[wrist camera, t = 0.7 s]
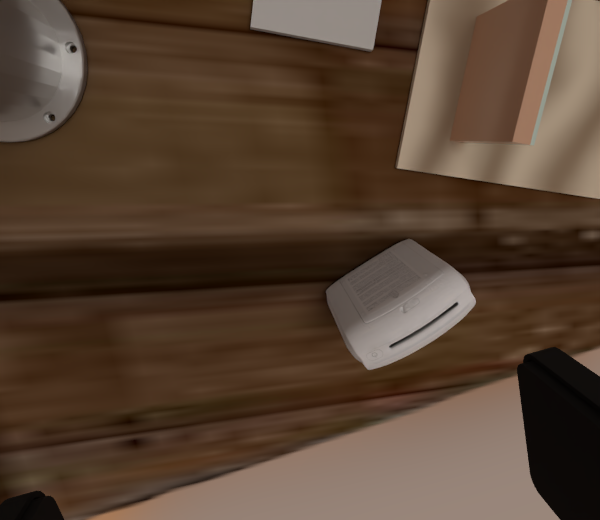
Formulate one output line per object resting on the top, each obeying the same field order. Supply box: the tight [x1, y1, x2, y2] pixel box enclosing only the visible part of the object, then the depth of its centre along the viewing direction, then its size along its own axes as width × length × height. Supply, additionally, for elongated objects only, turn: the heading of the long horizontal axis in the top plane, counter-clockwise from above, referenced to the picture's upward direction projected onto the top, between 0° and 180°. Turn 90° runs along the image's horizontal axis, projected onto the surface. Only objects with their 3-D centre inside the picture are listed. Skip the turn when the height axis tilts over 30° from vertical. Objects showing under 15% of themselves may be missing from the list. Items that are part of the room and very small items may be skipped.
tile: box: [450, 0, 572, 145], centre depth 35 cm, size 2×10×10 cm, turn 171°
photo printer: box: [326, 239, 476, 370], centre depth 38 cm, size 10×4×12 cm, turn 122°
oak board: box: [395, 0, 600, 199], centre depth 41 cm, size 20×16×1 cm
